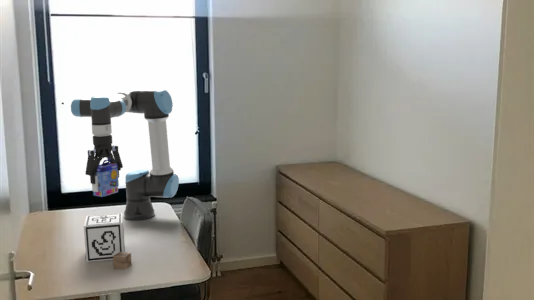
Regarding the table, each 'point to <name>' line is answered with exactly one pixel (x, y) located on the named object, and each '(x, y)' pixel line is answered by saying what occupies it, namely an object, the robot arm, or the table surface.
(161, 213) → the table surface
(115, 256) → the walnut cube
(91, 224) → the block
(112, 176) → the ink cartridge box
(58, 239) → the table surface
